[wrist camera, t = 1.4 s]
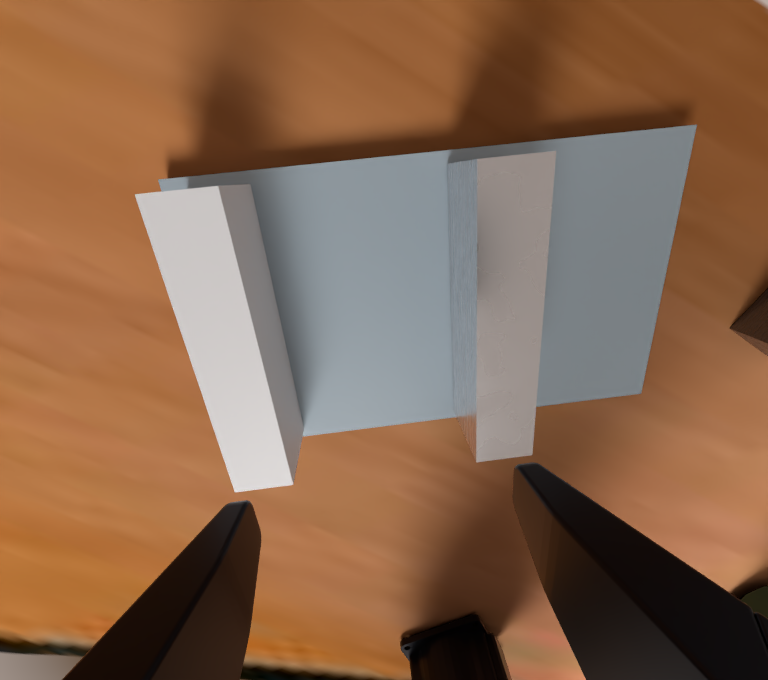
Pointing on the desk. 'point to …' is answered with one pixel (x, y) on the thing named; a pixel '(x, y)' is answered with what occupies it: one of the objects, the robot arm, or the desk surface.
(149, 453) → the desk surface
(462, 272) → the bar
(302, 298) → the vise base
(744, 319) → the steel block
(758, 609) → the character mug
